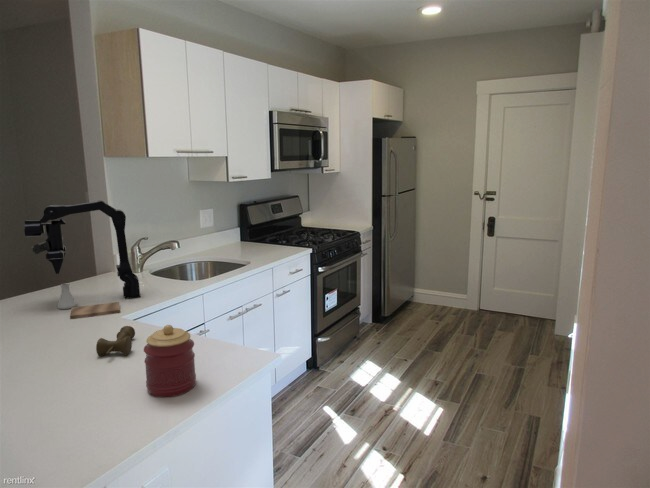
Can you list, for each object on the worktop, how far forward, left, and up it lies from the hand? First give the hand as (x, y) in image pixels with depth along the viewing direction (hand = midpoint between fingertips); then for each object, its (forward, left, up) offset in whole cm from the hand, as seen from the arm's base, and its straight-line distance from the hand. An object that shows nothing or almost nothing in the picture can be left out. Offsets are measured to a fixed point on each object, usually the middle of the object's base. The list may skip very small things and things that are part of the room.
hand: (58, 271), depth 198 cm
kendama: (-20, +64, -15) cm, 69 cm away
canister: (-32, +98, -15) cm, 104 cm away
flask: (-2, +5, -15) cm, 16 cm away
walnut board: (-13, +17, -15) cm, 26 cm away
